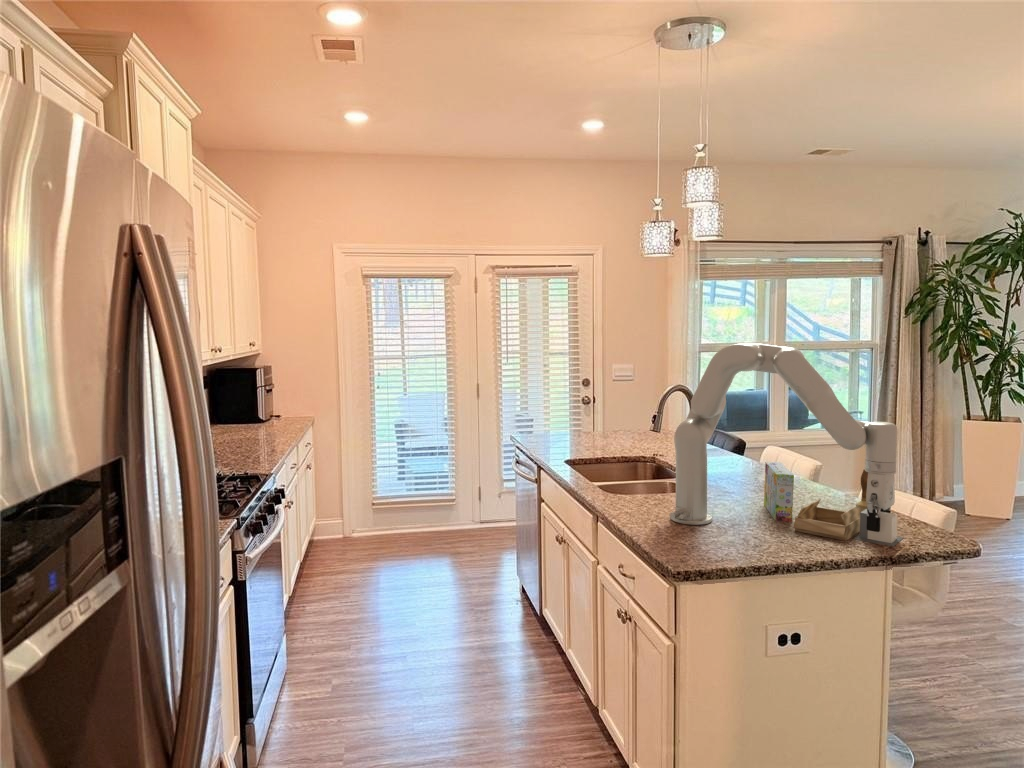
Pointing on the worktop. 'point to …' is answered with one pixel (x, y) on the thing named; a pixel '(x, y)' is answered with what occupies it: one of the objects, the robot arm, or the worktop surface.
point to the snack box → (778, 491)
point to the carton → (828, 521)
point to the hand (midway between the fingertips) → (878, 527)
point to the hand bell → (863, 491)
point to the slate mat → (879, 541)
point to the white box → (886, 527)
